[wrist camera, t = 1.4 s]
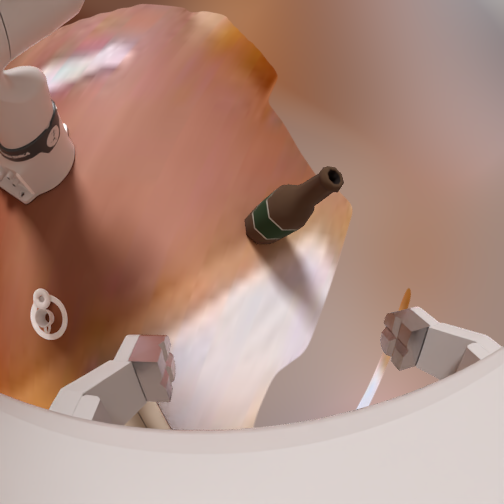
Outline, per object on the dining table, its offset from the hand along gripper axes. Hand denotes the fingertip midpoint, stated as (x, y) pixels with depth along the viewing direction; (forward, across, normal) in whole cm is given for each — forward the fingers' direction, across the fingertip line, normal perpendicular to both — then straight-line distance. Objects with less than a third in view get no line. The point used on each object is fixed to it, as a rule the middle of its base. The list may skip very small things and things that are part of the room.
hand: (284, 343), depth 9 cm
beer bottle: (+46, -5, +6) cm, 47 cm away
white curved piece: (+29, +33, +13) cm, 46 cm away
